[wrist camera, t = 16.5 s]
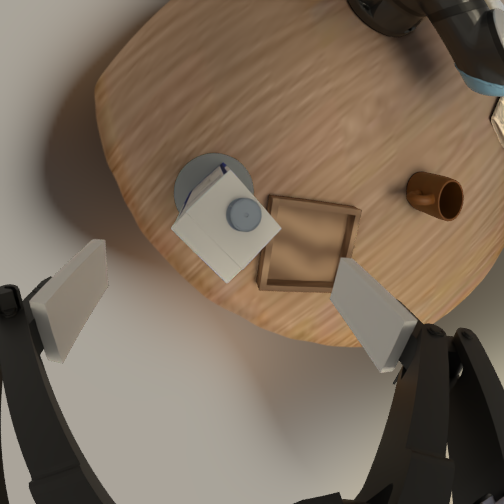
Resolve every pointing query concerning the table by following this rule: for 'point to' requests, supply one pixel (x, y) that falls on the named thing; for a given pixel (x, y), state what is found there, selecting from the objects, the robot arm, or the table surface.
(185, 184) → the mat
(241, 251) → the milk carton
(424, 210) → the mug
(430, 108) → the table surface
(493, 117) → the newspaper
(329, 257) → the crate
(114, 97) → the table surface
